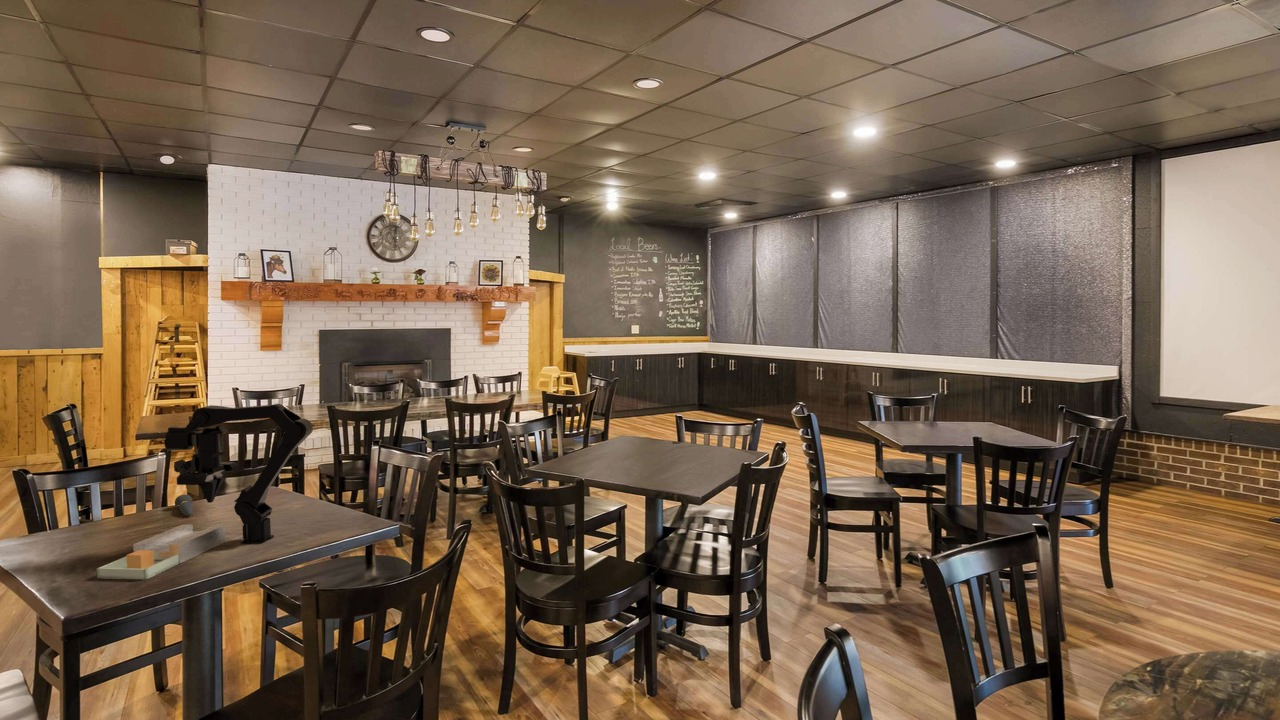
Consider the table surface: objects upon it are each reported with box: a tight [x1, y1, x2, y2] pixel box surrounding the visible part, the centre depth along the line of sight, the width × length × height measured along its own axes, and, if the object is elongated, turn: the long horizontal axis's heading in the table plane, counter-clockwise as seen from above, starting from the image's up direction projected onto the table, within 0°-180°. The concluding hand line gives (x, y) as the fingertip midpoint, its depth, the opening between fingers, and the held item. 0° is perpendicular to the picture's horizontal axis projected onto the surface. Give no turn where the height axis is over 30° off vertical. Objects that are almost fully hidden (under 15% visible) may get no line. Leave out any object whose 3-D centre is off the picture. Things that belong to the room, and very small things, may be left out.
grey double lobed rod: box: [174, 494, 194, 517], centre depth 233 cm, size 20×5×5 cm, turn 45°
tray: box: [96, 555, 180, 580], centre depth 176 cm, size 13×11×2 cm
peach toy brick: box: [126, 550, 154, 569], centre depth 176 cm, size 4×4×4 cm
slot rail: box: [133, 524, 227, 564], centre depth 191 cm, size 13×18×5 cm
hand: (210, 502), depth 198 cm, fingers closed
